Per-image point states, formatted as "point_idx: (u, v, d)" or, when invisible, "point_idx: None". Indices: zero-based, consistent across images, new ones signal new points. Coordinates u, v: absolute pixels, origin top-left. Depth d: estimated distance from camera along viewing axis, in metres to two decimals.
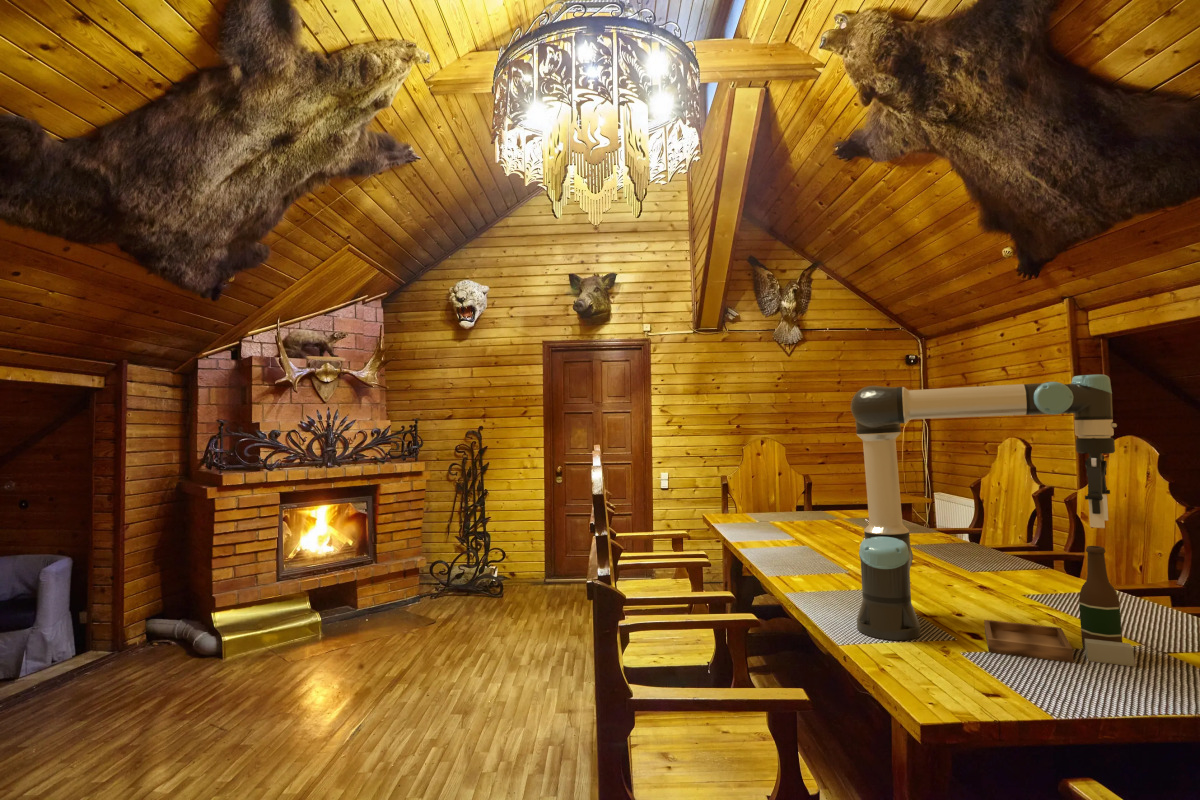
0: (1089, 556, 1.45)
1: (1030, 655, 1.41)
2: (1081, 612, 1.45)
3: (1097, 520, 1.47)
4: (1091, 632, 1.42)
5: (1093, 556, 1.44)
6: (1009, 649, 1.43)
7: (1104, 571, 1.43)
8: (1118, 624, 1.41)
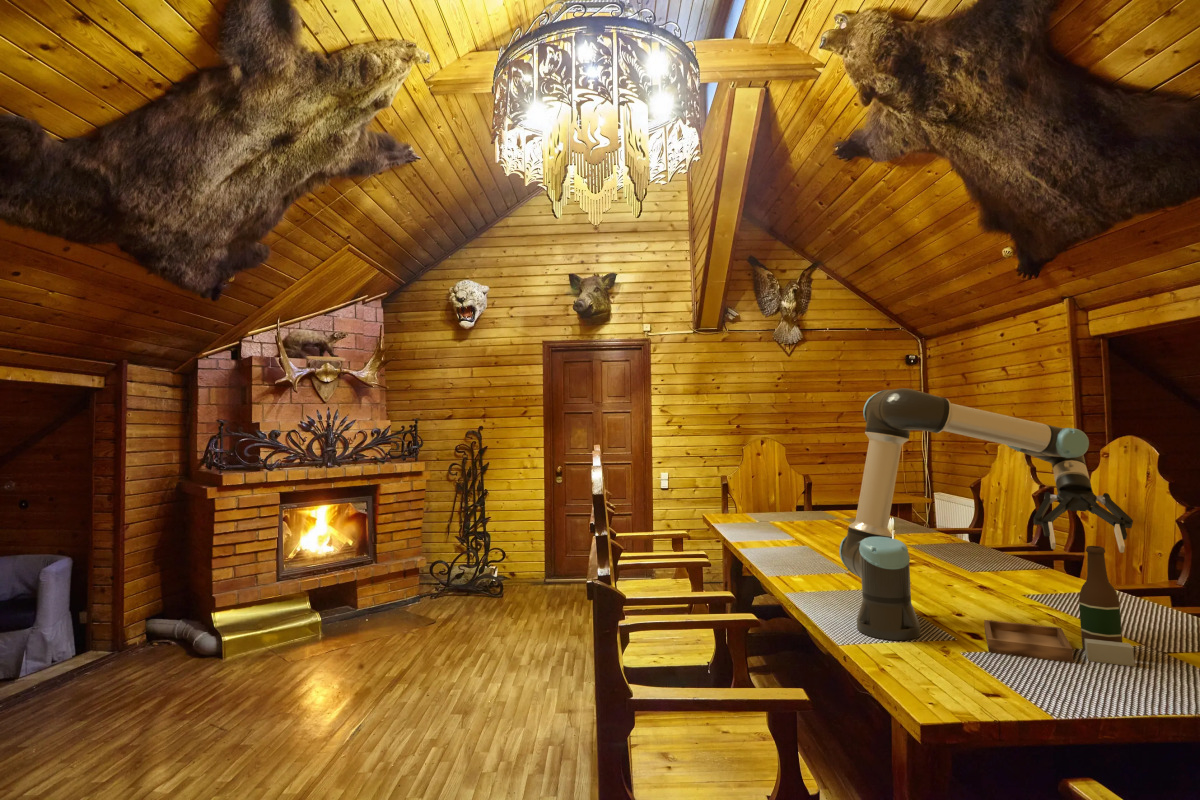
0: (1089, 556, 1.45)
1: (1030, 655, 1.41)
2: (1081, 612, 1.45)
3: (1050, 540, 1.58)
4: (1091, 632, 1.42)
5: (1093, 556, 1.44)
6: (1009, 649, 1.43)
7: (1104, 571, 1.43)
8: (1118, 624, 1.41)
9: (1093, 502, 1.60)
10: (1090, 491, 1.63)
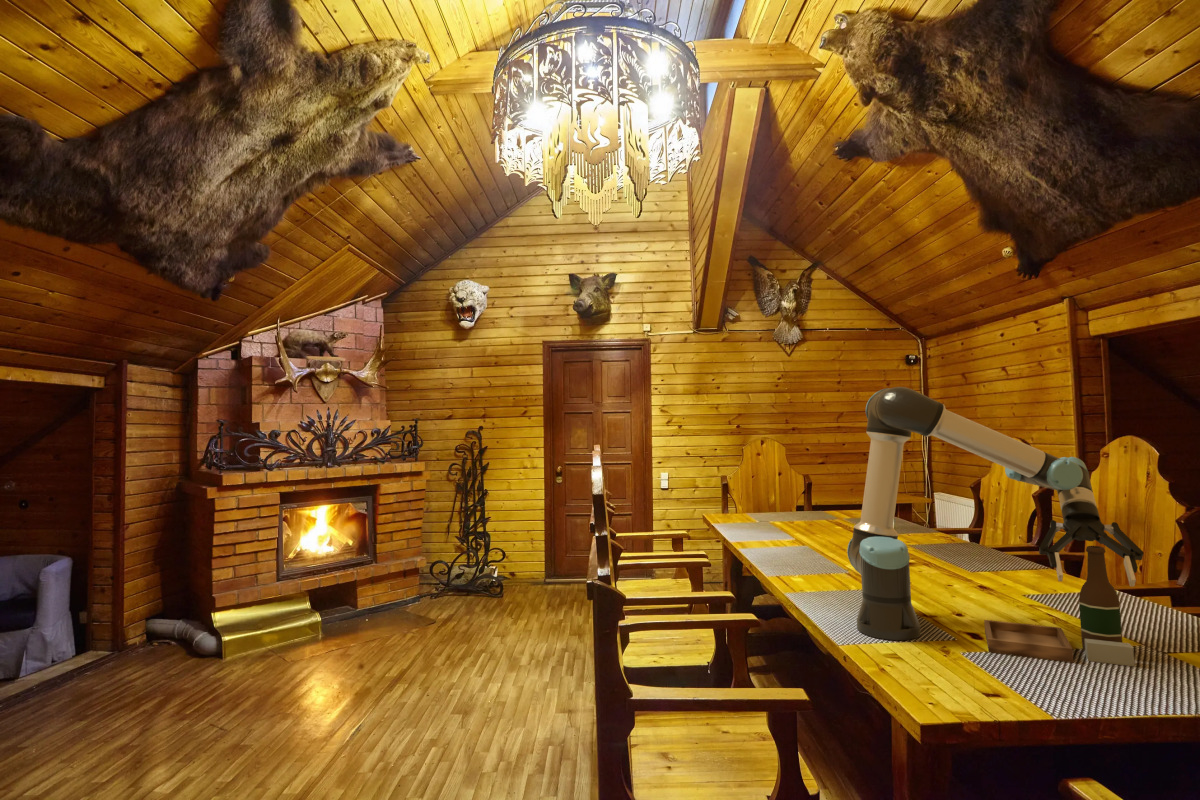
0: (1089, 556, 1.45)
1: (1030, 655, 1.41)
2: (1081, 612, 1.45)
3: (1057, 571, 1.51)
4: (1091, 632, 1.42)
5: (1093, 556, 1.44)
6: (1009, 649, 1.43)
7: (1104, 571, 1.43)
8: (1118, 624, 1.41)
9: (1101, 532, 1.53)
10: (1098, 520, 1.56)
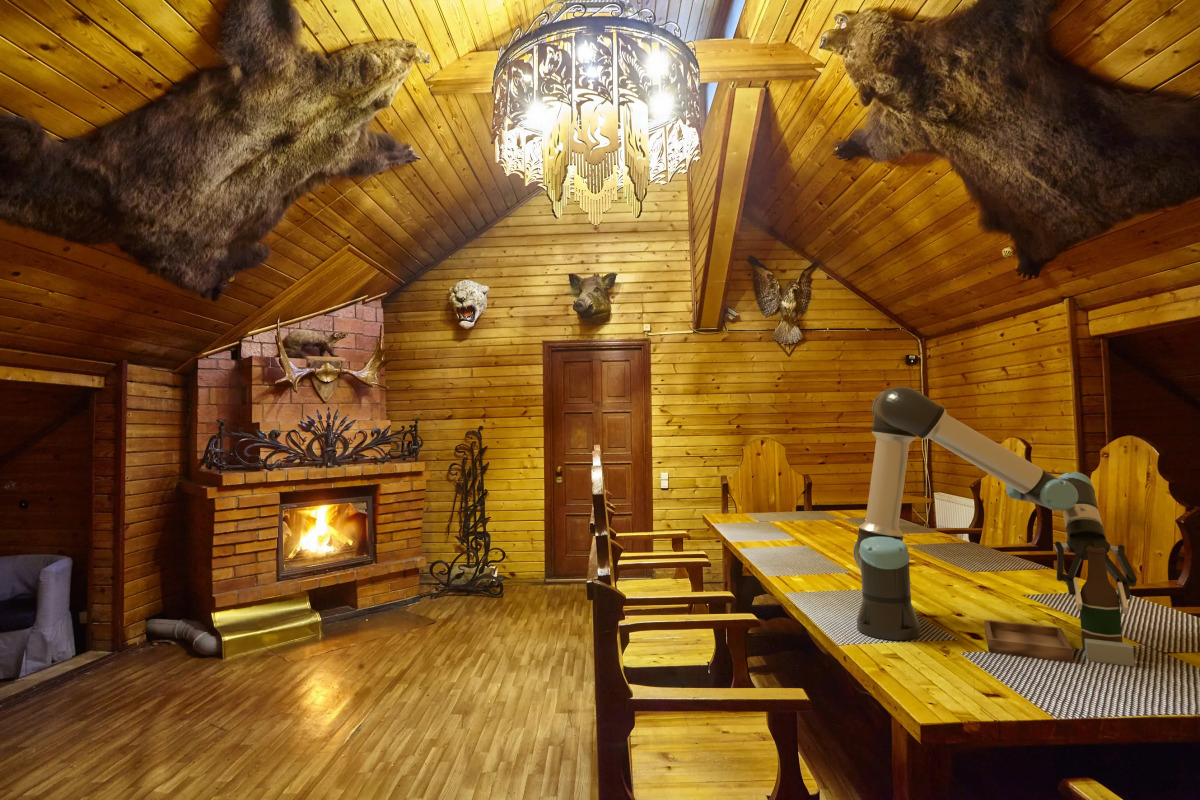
0: (1090, 556, 1.45)
1: (1030, 655, 1.41)
2: (1081, 612, 1.45)
3: (1076, 599, 1.44)
4: (1091, 632, 1.42)
5: (1093, 556, 1.44)
6: (1009, 649, 1.43)
7: (1104, 571, 1.43)
8: (1118, 624, 1.40)
9: None
10: (1103, 538, 1.51)
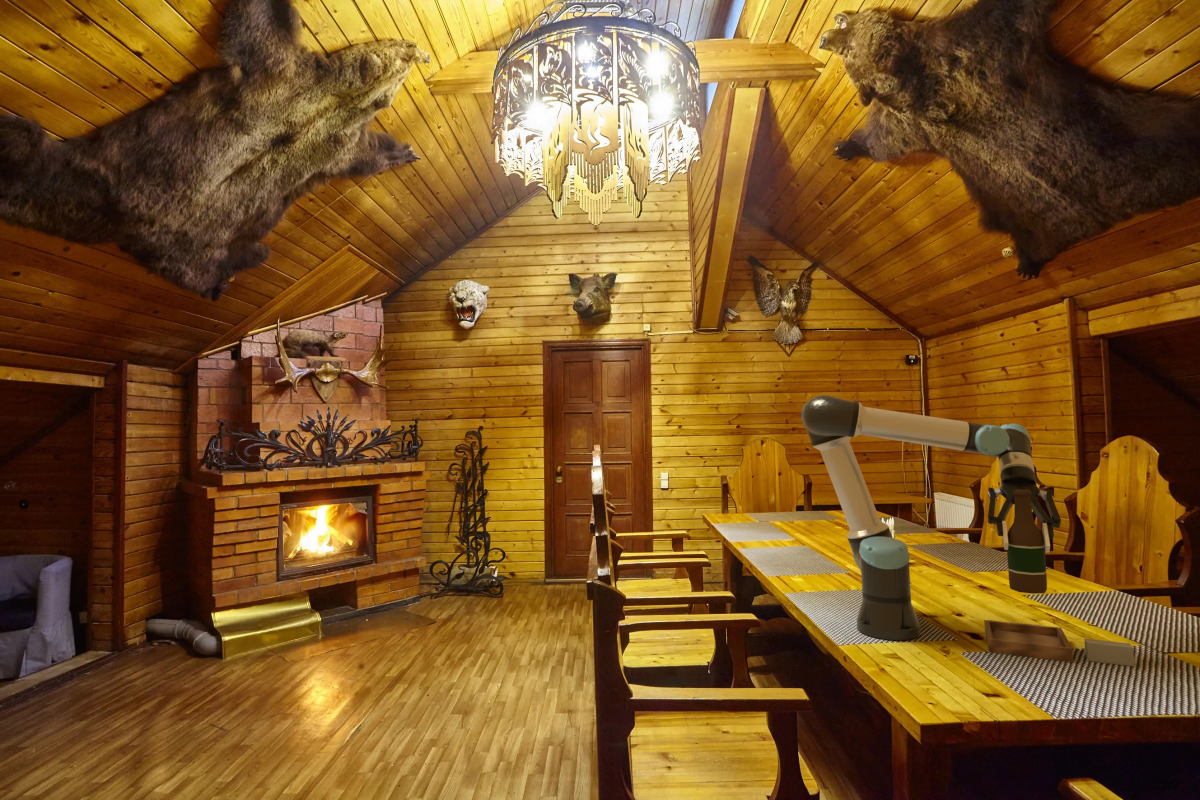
0: (1016, 499, 1.50)
1: (1030, 655, 1.41)
2: (1008, 553, 1.50)
3: None
4: (1016, 571, 1.47)
5: (1019, 498, 1.49)
6: (1009, 649, 1.43)
7: (1029, 512, 1.48)
8: (1042, 562, 1.45)
9: (1032, 497, 1.53)
10: (1034, 484, 1.56)
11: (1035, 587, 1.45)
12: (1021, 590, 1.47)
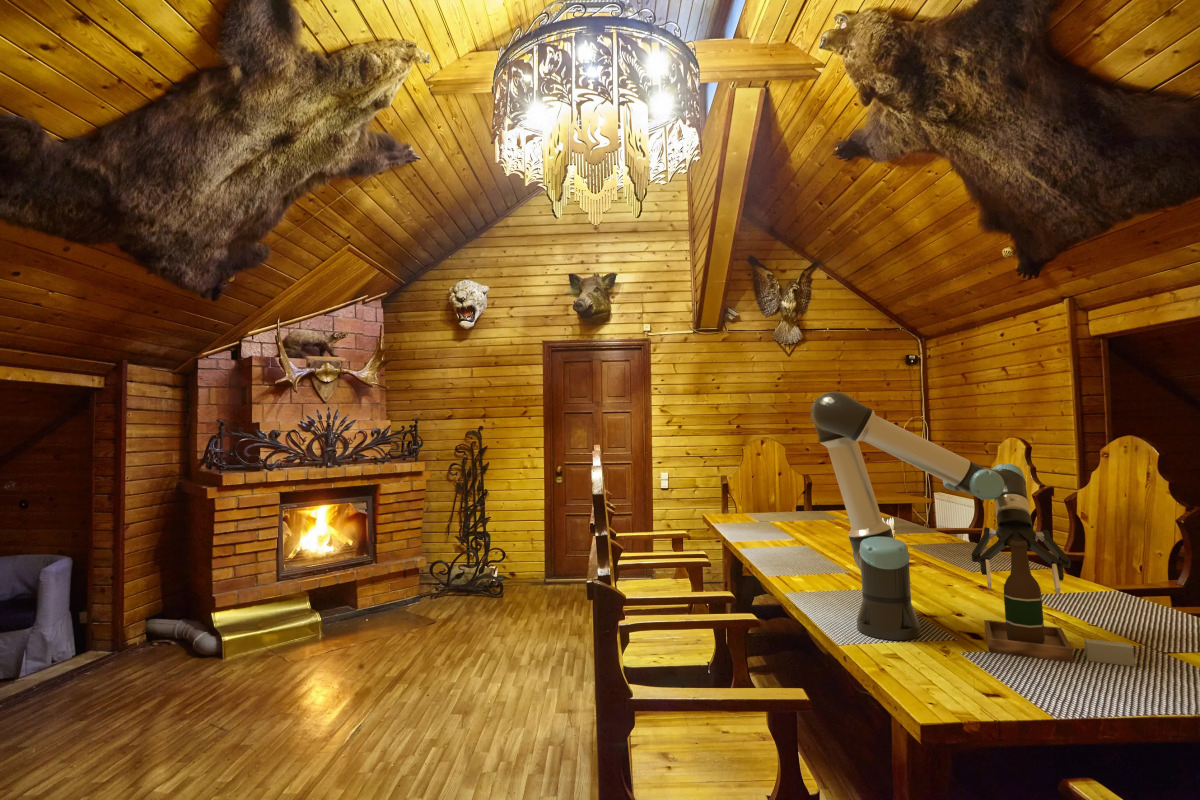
0: (1013, 550, 1.49)
1: (1030, 655, 1.41)
2: (1005, 604, 1.50)
3: None
4: (1014, 623, 1.47)
5: (1016, 550, 1.49)
6: (1009, 649, 1.43)
7: (1026, 564, 1.48)
8: (1039, 615, 1.45)
9: (1032, 539, 1.53)
10: (1030, 527, 1.56)
11: (1033, 640, 1.45)
12: None
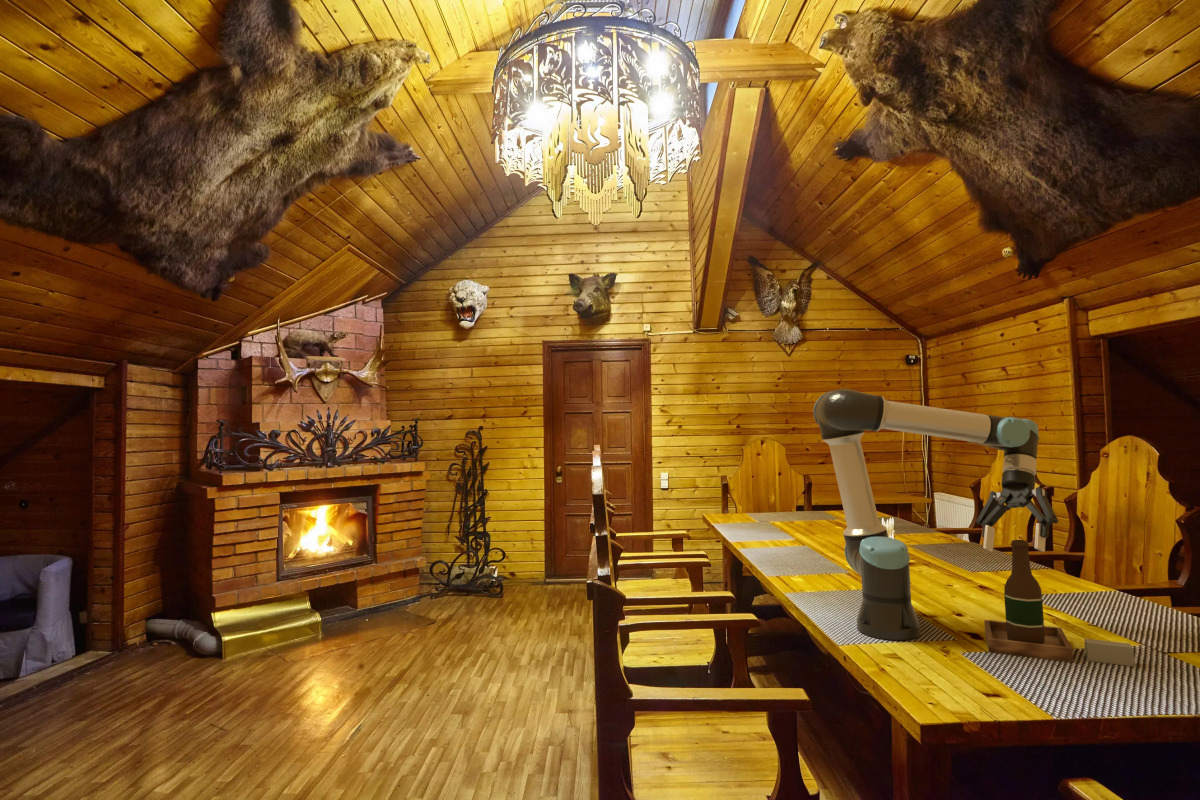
0: (1014, 550, 1.49)
1: (1030, 655, 1.41)
2: (1006, 604, 1.50)
3: None
4: (1014, 624, 1.47)
5: (1017, 550, 1.49)
6: (1009, 649, 1.43)
7: (1027, 564, 1.48)
8: (1039, 615, 1.45)
9: (1023, 500, 1.62)
10: (1026, 486, 1.63)
11: (1033, 640, 1.45)
12: None
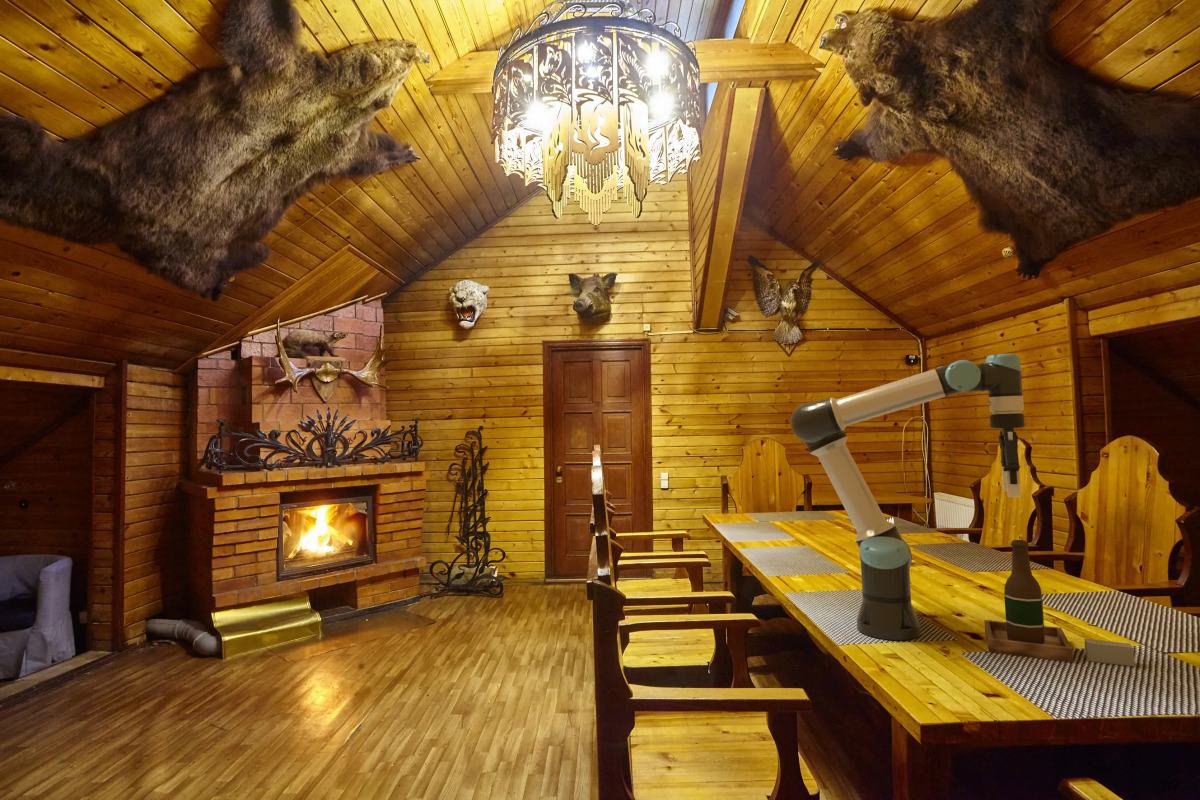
0: (1014, 550, 1.49)
1: (1030, 655, 1.41)
2: (1006, 604, 1.50)
3: None
4: (1014, 624, 1.47)
5: (1017, 550, 1.49)
6: (1009, 649, 1.43)
7: (1027, 564, 1.48)
8: (1039, 615, 1.45)
9: (1001, 445, 1.60)
10: (1003, 429, 1.60)
11: (1033, 640, 1.45)
12: None
